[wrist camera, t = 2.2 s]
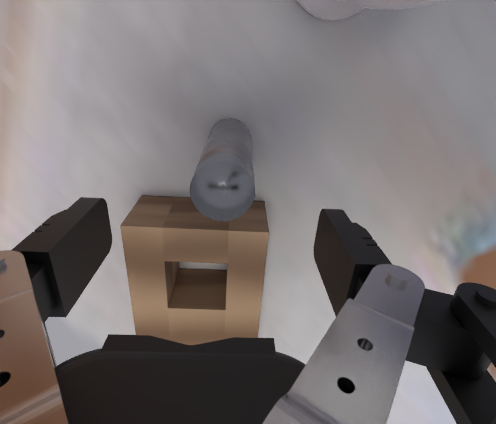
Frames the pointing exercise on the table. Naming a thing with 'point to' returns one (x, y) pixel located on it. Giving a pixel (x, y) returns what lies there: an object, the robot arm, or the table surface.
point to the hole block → (194, 270)
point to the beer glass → (356, 6)
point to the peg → (225, 173)
